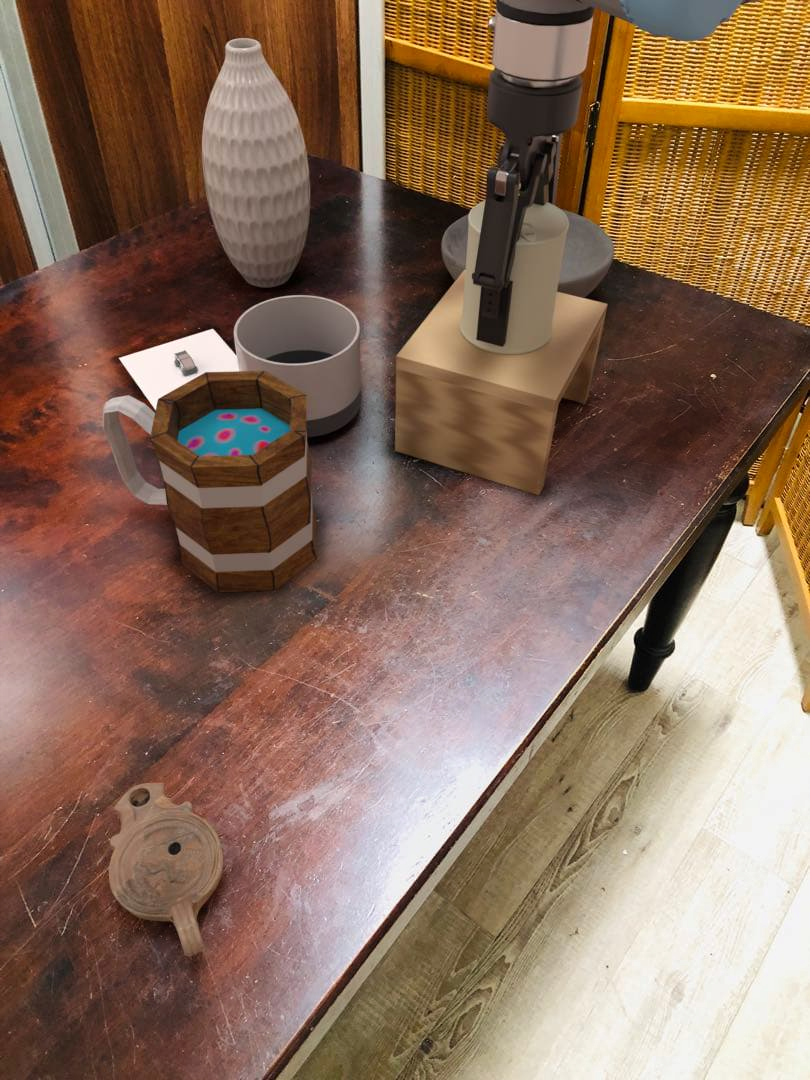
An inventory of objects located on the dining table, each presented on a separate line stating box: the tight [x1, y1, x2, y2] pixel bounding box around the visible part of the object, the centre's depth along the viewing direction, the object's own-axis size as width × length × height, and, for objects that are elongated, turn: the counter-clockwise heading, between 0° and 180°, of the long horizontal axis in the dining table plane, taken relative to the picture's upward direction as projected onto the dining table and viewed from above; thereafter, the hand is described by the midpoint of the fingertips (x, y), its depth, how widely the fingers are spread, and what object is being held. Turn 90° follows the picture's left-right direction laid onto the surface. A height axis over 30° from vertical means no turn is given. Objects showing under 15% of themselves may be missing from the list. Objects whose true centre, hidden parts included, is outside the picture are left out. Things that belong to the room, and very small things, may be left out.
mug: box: [101, 371, 318, 593], centre depth 79 cm, size 20×14×15 cm
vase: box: [201, 37, 311, 289], centre depth 107 cm, size 13×13×28 cm
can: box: [460, 200, 569, 355], centre depth 83 cm, size 9×9×12 cm
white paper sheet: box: [118, 328, 239, 411], centre depth 102 cm, size 12×12×2 cm
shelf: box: [394, 270, 609, 496], centre depth 92 cm, size 16×18×12 cm
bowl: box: [440, 208, 615, 299], centre depth 112 cm, size 21×21×8 cm
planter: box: [233, 294, 362, 439], centre depth 94 cm, size 13×13×10 cm
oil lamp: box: [108, 782, 224, 958], centre depth 59 cm, size 13×8×5 cm, turn 25°
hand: (507, 316), depth 87 cm, fingers closed on can, 9 cm apart
